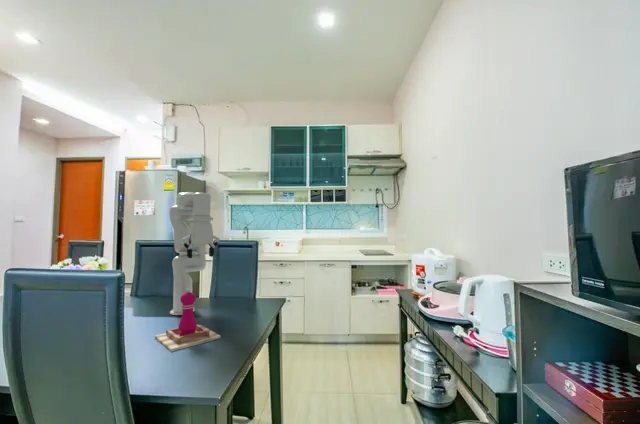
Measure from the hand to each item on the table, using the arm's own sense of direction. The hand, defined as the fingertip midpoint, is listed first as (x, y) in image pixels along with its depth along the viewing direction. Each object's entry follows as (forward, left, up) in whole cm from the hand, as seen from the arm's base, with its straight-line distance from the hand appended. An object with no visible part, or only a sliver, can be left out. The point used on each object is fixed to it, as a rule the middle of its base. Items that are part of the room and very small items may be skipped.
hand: (200, 257), depth 138 cm
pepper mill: (+5, -7, -33) cm, 34 cm away
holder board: (+4, -7, -34) cm, 35 cm away
